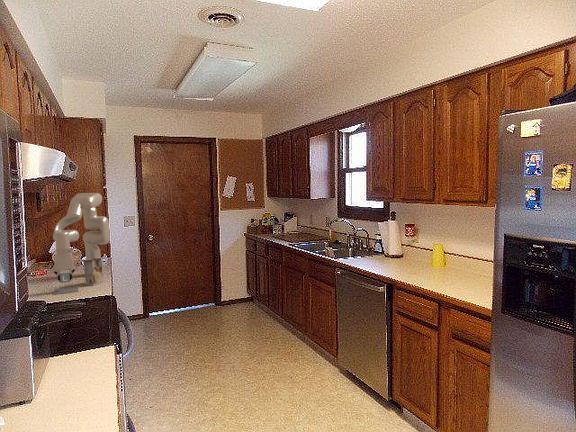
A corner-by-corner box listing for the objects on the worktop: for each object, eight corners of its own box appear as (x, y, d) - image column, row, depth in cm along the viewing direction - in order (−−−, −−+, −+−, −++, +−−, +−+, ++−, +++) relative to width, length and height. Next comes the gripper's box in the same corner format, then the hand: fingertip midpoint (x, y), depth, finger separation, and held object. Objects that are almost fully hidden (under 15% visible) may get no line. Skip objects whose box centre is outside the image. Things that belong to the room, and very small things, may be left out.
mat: (54, 289, 242) (54, 289, 242) (78, 286, 248) (78, 286, 248) (53, 294, 231) (53, 294, 231) (78, 291, 237) (78, 291, 237)
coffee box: (94, 281, 261) (93, 258, 259) (103, 281, 259) (101, 258, 258) (85, 285, 252) (83, 260, 250) (93, 285, 251) (92, 261, 249)
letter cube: (60, 281, 240) (60, 273, 239) (70, 280, 242) (69, 272, 242) (60, 283, 235) (59, 274, 235) (69, 282, 237) (69, 273, 237)
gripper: (79, 249, 244) (80, 277, 246) (47, 252, 236) (49, 281, 238) (79, 251, 238) (80, 280, 239) (46, 254, 230) (48, 284, 231)
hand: (65, 280), depth 239 cm, fingers closed on letter cube, 5 cm apart
